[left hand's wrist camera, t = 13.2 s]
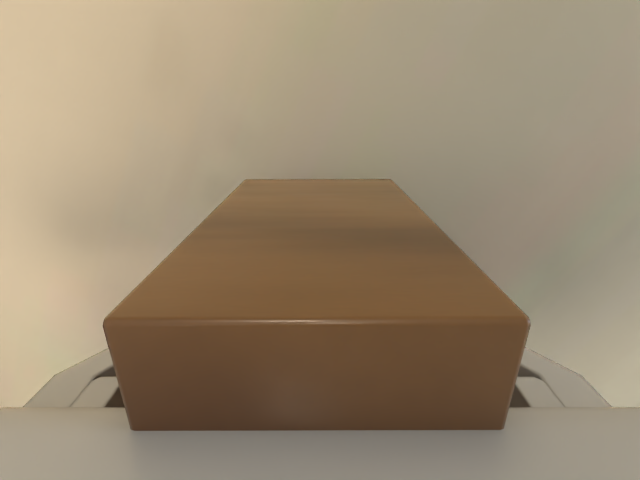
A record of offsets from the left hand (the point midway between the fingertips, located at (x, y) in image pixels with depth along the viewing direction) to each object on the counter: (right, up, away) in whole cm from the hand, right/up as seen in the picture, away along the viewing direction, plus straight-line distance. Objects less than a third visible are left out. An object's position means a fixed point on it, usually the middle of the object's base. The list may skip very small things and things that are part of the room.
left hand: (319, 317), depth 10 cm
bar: (0, -9, +7) cm, 11 cm away
